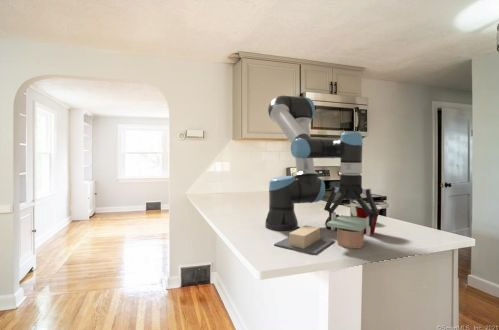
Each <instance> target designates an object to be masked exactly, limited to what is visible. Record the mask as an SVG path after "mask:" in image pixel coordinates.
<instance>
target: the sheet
mask: <svg viewBox="0 0 499 330" xmlns="http://www.w3.org/2000/svg"><path fill="white" fill-rule="evenodd" d="M327 226H329V227H336V228H342V229H349V230H355V231H362V230H364V229H365V228H366V218H359V217H351V216H349V215H339V217H337V218H335V219H333V220H331V221H329V222H327Z"/></svg>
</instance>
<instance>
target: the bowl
mask: <svg viewBox="0 0 499 330" xmlns="http://www.w3.org/2000/svg"><path fill="white" fill-rule="evenodd" d="M364 238H365V234H364V230H362V231H355V230H349V229H342V228H337V230H336V242H337V245H338V246H340V247H342V248H346V249H361V248H363V247H364V241H365V239H364Z"/></svg>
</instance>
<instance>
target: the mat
mask: <svg viewBox="0 0 499 330" xmlns="http://www.w3.org/2000/svg"><path fill="white" fill-rule="evenodd" d="M333 243H335V240H334V239H330V238H325V237H321V227H316V226H311V225H304V226H302V227H300V228H299V227H298V228H296V229H294V230H292V231H290V232H289V233H288V237H286V238H284V239H282V240H280V241H277V242H276V243H274V245H273V246H274V247H279V248H282V249H283V248H284V249H288V250H293V251H296V252H301V253H305V254H309V255H315V256H316V255H317V254H319V253H320V252H322V251H324V249H326V248H327V247H329V246H330V245H331V244H333Z"/></svg>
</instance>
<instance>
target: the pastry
mask: <svg viewBox="0 0 499 330" xmlns="http://www.w3.org/2000/svg"><path fill="white" fill-rule="evenodd" d="M339 216H340V214H337V213H336V218H337V217H339ZM327 222H329V216H328V217H326V220H325V223H324V225H325V229H327V230H331V227H329V226H327ZM334 231H337V228H336V229H335V230H334Z"/></svg>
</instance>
